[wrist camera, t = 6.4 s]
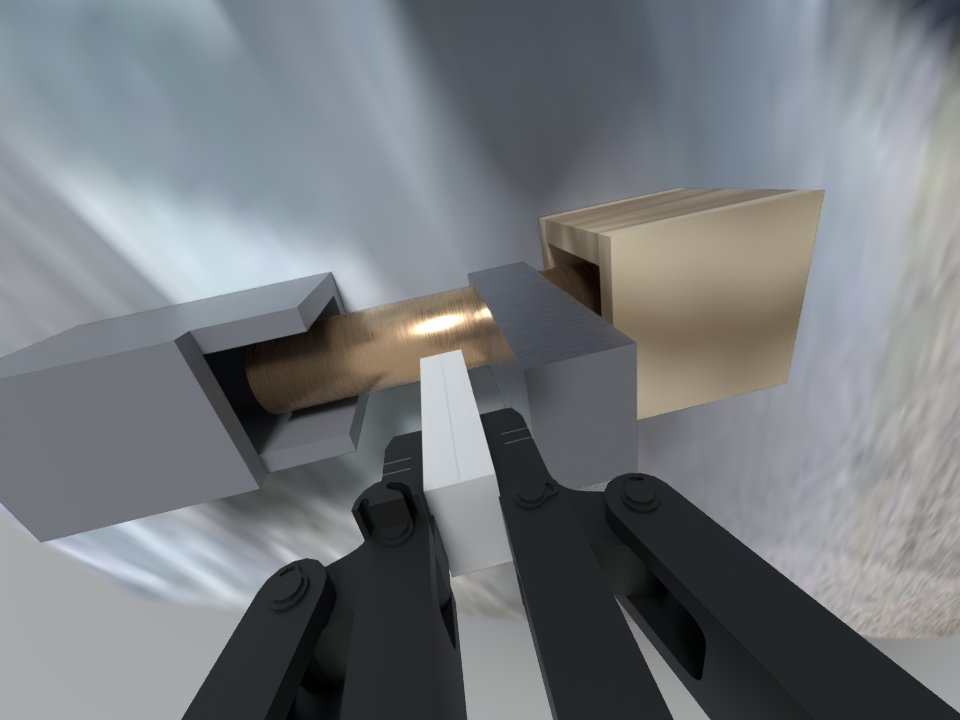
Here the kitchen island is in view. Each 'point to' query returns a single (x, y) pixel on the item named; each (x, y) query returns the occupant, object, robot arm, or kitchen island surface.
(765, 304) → the socket
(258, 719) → the robot arm
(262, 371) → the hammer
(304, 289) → the sleeve
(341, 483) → the kitchen island surface
